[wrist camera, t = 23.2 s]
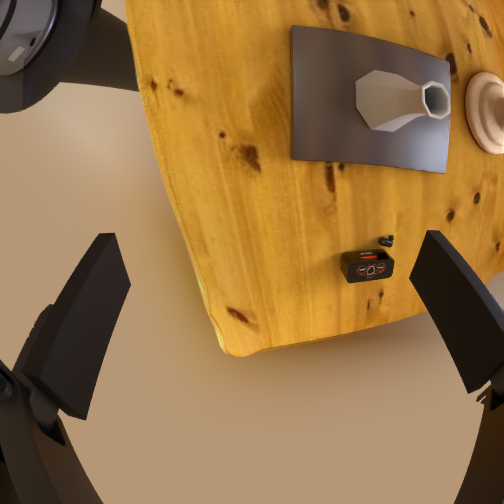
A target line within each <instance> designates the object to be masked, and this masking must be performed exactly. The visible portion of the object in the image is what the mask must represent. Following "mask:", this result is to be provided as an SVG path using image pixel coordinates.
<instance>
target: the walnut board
mask: <svg viewBox="0 0 504 504" xmlns="http://www.w3.org/2000/svg"><path fill="white" fill-rule="evenodd" d="M290 55H291V155H290V158H291V159H292V160H305V161H328V162H344V163H358V164H369V165H380V166H389V167H398V168H406V169H414V170H421V171H428V172H434V173H441V174H445V172H446V164H447V155H448V145H449V131H450V113H449V114H448V115H447V116H445V117H444V118H442V119H437V118H432V117H428V116H426V115H423V116H419V117H416V118H415V119H413V120H411V121H409V122H408V123H406V124H405V125H403V126H402V127H400V128H399V129H397V130H396V131H394V132H389V131H381V130H372V129H370V128H369V126H368V124H367V123H366V121H365V120H364V118H363V117H362V115H361V114H360V112H359V111H358V109H357V108H356V82H355V81H357V80H359V79H360V78H362V77H364V76H365V75H367V74H368V73H370V72H372V71H373V70H378V71H383V72H388V73H393V74H397V75H400V76H402V77H403V78H405V79H407V80H409V81H411V82H413V83H415V84H417V85H424V84H426V83H427V82H429V81H434V82H437V83H440V84H443V85H444V87H445V89H446V91H447V93H448V95H449V97H450V105H451V89H450V64H449V62H448V61H445V60H443V59H440V58H438V57H435V56H432V55H430V54H427V53H424V52H421V51H418V50H415V49H412V48H409V47H406V46H403V45H399V44H396V43H392V42H389V41H385V40H381V39H377V38H373V37H368V36H364V35H359V34H354V33H348V32H343V31H337V30H330V29H323V28H315V27H305V26H294V25H292V26H291V28H290Z"/></svg>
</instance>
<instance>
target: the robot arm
mask: <svg viewBox="0 0 504 504" xmlns="http://www.w3.org/2000/svg"><path fill="white" fill-rule="evenodd" d="M60 13H61V0H0V75H14V74H17V73H19V72H21V71H23V70H24V69H26V68H27V67H28V66H29V65H31V64H32V63H33V62H34V61H35V60H36V58H37V57H38V56H39V55H40V54H41V52H42V51H43V50H44V48H45V47H46V45H47V44H48V42H49V40H50V38H51V37H52V35H53V33H54V31H55V28H56V26H57V23H58V20H59V17H60ZM409 279H410V281H411V282H412V284H413V286H414V287H415V289H416V291H417V292H418V294H419V296H420V297H421V299H422V301H423V303H424V304H425V306H426V308H427V310H428V312H429V313H430V315H431V317H432V319H433V321H434V322H435V324H436V326H437V328H438V330H439V332H440V334H441V336H442V338H443V340H444V342H445V344H446V346H447V348H448V350H449V352H450V354H451V356H452V358H453V360H454V363H455V365H456V367H457V369H458V371H459V374H460V376H461V378H462V380H463V383H464V385H465V388H466V390H467V393H468V394H469V393H471V392H474V391H476V390H478V389H480V388H481V387H482V386H483V385H484V384H486V383H487V382H488V381H489V380H490V381H491V385H490V386H489V387H488V388H486V389H485V390H484V391H483V392H482V393H481V394H480V395H479V396H478V397H477V400H476V401H477V402H478V401H480V400H481V399H482V398H483V397H484V396H485V395H486V397H485V398H484V399H483V400H482V401H481V403H482V404H484V410H483V415H482V419H481V424H480V428H479V433H478V436H477V440H476V443H475V447H474V450H473V454H472V457H471V460H470V464H469V466H468V469H467V472H466V475H465V477H464V480H463V483H462V485H461V488H460V490H459V493H458V495H457V497H456V500H455V502H454V504H504V310H502V306H501V305H500V303H499V302H498V301H497V299H496V298H495V297H494V296H493V295H492V294H491V293H490V292H489V291H488V289H487V288H486V287H485V285H484V284H483V283H482V281H481V280H480V279H479V277H478V276H477V275H476V273H475V272H474V271H473V270H472V268H471V267H470V266H469V265H468V263H467V262H466V261H465V260H464V258H463V257H462V256H461V255H460V254H459V252H458V251H457V250H456V249H455V248H454V247H453V245H452V244H451V243H450V242H449V241H448V240H447V239H446V237H445V236H444V235H443V234H442V233H441V232H440V231H438V230H427V232H426V235H425V238H424V241H423V243H422V246H421V249H420V252H419V254H418V257H417V260H416V262H415V265H414V267H413V270H412V272H411V275H410V277H409ZM130 286H131V283H130V280H129V278H128V274H127V272H126V268H125V265H124V262H123V259H122V256H121V252H120V249H119V246H118V242H117V239H116V236H115V233H101V234H98V236H97V237H96V239H95V240H94V241H93V243H92V244H91V246H90V247H89V249H88V250H87V252H86V253H85V255H84V256H83V258H82V259H81V261H80V262H79V264H78V265H77V267H76V268H75V270H74V272H73V273H72V275H71V276H70V278H69V280H68V281H67V283H66V285H65V286H64V288H63V290H62V291H61V293H60V295H59V296H58V298H57V300H56V302H55V303H54V305H52V304H49V305H48V306H47V307H46V308H45V309H44V310H43V311H42V312H41V313H40V315H39V317H38V319H37V321H36V322H35V324H34V328H32V330H31V332H30V334H29V337H28V338H27V340H26V342H25V344H24V346H23V348H22V350H21V352H20V354H19V356H18V359H17V361H16V363H15V365H14V367H13V369H12V371H10V370H9V369H8V368H7V367H6V365H5V364H4V363H3V362H2V361H1V360H0V504H103V502H102V501H101V499H100V497H99V496H98V494H97V492H96V491H95V489H94V487H93V486H92V484H91V482H90V480H89V479H88V477H87V475H86V473H85V471H84V469H83V467H82V465H81V463H80V461H79V459H78V457H77V455H76V453H75V451H74V449H73V446H72V444H71V442H70V440H69V438H68V435H67V433H66V430H65V428H64V425H63V423H62V420H61V419H60V417H59V415H58V414H57V413H58V410H59V408H60V409H61V410H62V411H63V412H64V413H66V414H67V415H68V416H72V417H75V418H78V419H82V420H86V418H87V414H88V410H89V406H90V402H91V399H92V395H93V392H94V388H95V385H96V381H97V378H98V375H99V372H100V368H101V365H102V362H103V359H104V356H105V353H106V350H107V347H108V344H109V341H110V338H111V336H112V332H113V330H114V327H115V324H116V322H117V319H118V316H119V313H120V311H121V308H122V306H123V303H124V301H125V298H126V296H127V293H128V291H129V288H130Z"/></svg>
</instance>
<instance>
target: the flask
mask: <svg viewBox="0 0 504 504" xmlns="http://www.w3.org/2000/svg"><path fill="white" fill-rule="evenodd" d="M355 82H356V108H357V109H358V111H359V112H360V114H361V115H362V117H363V118H364V120H365V121H366V123H367V124H368V126H369V128H370V129H372V130H381V131H389V132H394V131H396V130H397V129H399V128H400V127H402V126H403V125H405V124H406V123H408V122H409V121H411V120H413V119H415V118H416V117H419V116H423V115H426V116H428V117H432V118H437V119H442V118H444V117H445V116H447V115H448V114H449V113H450V97H449V95H448V93H447V91H446V89H445V87H444V85H443V84H440V83H437V82H434V81H429V82H427V83H426V84H424V85H417V84H415V83H413V82H411V81H409V80H407V79H405V78H403V77H402V76H400V75H397V74H393V73H388V72H383V71H378V70H373V71H372V72H370V73H368V74H367V75H365V76H364V77H362V78H360V79H359V80H357V81H355Z"/></svg>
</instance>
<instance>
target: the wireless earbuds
mask: <svg viewBox="0 0 504 504" xmlns="http://www.w3.org/2000/svg"><path fill="white" fill-rule="evenodd" d="M388 237H389V238H383V237H382V238H379V240H378V243H379V244H380V245H382V246H386V247H392V245H393V241H392V240H394V237H393V235H390V236H388ZM393 268H394V260H393V259H392V257H391V256H390V255H389V254H388V253H387V252H386V251H385V250H384V249H374V250H364V251H355V252H345V253H343V254H342V256H341V271H342V273H343V275H344V277H345V278H346V280H347V282H348V283H356V282H363V281H371V280H378V279H385V278H389V277H391V276H392V274H393Z"/></svg>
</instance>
